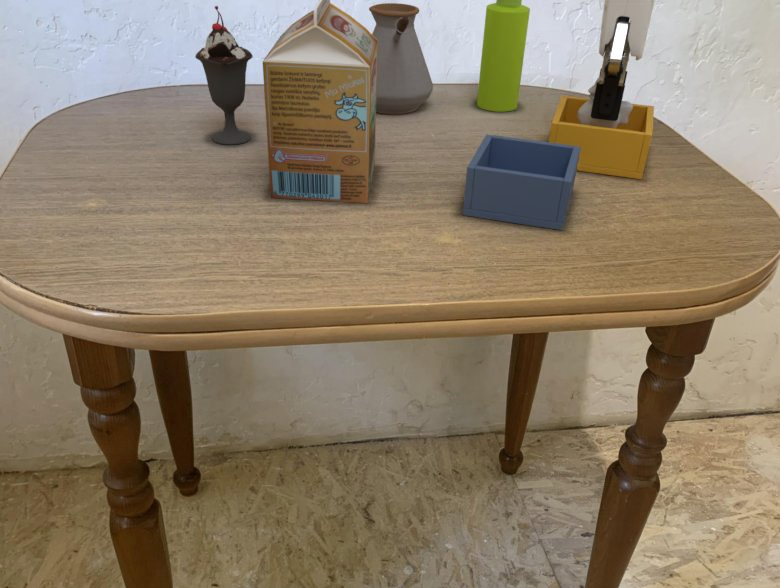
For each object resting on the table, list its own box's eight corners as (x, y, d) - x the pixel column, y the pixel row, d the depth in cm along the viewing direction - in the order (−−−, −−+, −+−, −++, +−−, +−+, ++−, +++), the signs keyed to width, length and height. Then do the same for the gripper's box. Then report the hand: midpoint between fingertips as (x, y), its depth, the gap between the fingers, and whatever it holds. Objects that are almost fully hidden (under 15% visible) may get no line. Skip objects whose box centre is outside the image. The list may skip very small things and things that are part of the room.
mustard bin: (644, 147, 101) (654, 106, 97) (641, 179, 92) (652, 135, 89) (555, 135, 103) (561, 95, 100) (544, 166, 94) (551, 122, 91)
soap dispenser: (529, 110, 111) (552, -47, 99) (483, 112, 110) (500, -48, 98) (515, 98, 116) (535, -54, 104) (471, 100, 114) (486, -55, 102)
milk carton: (286, 162, 92) (278, -15, 81) (374, 166, 92) (378, -10, 80) (270, 197, 84) (259, 6, 72) (367, 203, 84) (371, 11, 72)
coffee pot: (351, 93, 115) (351, -20, 106) (427, 94, 116) (434, -17, 107) (354, 143, 98) (355, 15, 89) (444, 144, 99) (454, 17, 90)
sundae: (230, 125, 102) (219, 0, 93) (268, 137, 99) (260, 9, 90) (193, 138, 97) (177, 8, 88) (231, 151, 94) (219, 18, 85)
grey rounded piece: (569, 125, 98) (581, 59, 93) (620, 126, 98) (634, 60, 93) (580, 140, 93) (593, 71, 88) (633, 141, 94) (649, 72, 89)
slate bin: (572, 192, 88) (581, 146, 85) (562, 230, 80) (571, 181, 77) (481, 179, 90) (486, 134, 87) (462, 215, 82) (467, 166, 79)
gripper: (676, -46, 76) (634, 137, 87) (675, -67, 89) (639, 95, 100) (598, -52, 77) (567, 129, 88) (609, -71, 90) (580, 88, 101)
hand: (605, 109), depth 94 cm, fingers closed on grey rounded piece, 5 cm apart
